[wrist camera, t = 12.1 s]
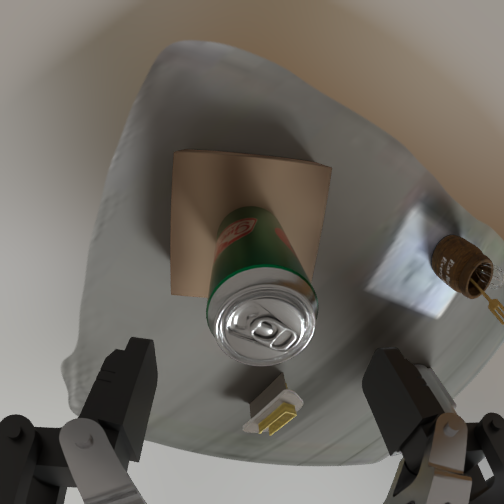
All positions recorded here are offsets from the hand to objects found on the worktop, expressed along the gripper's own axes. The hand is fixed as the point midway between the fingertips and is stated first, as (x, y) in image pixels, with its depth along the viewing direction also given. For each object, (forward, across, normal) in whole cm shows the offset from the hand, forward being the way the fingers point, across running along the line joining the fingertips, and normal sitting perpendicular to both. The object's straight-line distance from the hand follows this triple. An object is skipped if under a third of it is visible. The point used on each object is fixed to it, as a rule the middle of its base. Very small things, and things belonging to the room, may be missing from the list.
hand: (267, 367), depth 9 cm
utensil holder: (+20, -26, +2) cm, 32 cm away
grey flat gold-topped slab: (+20, -6, +24) cm, 32 cm away
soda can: (+14, 0, 0) cm, 15 cm away
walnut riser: (+19, 0, 0) cm, 19 cm away
